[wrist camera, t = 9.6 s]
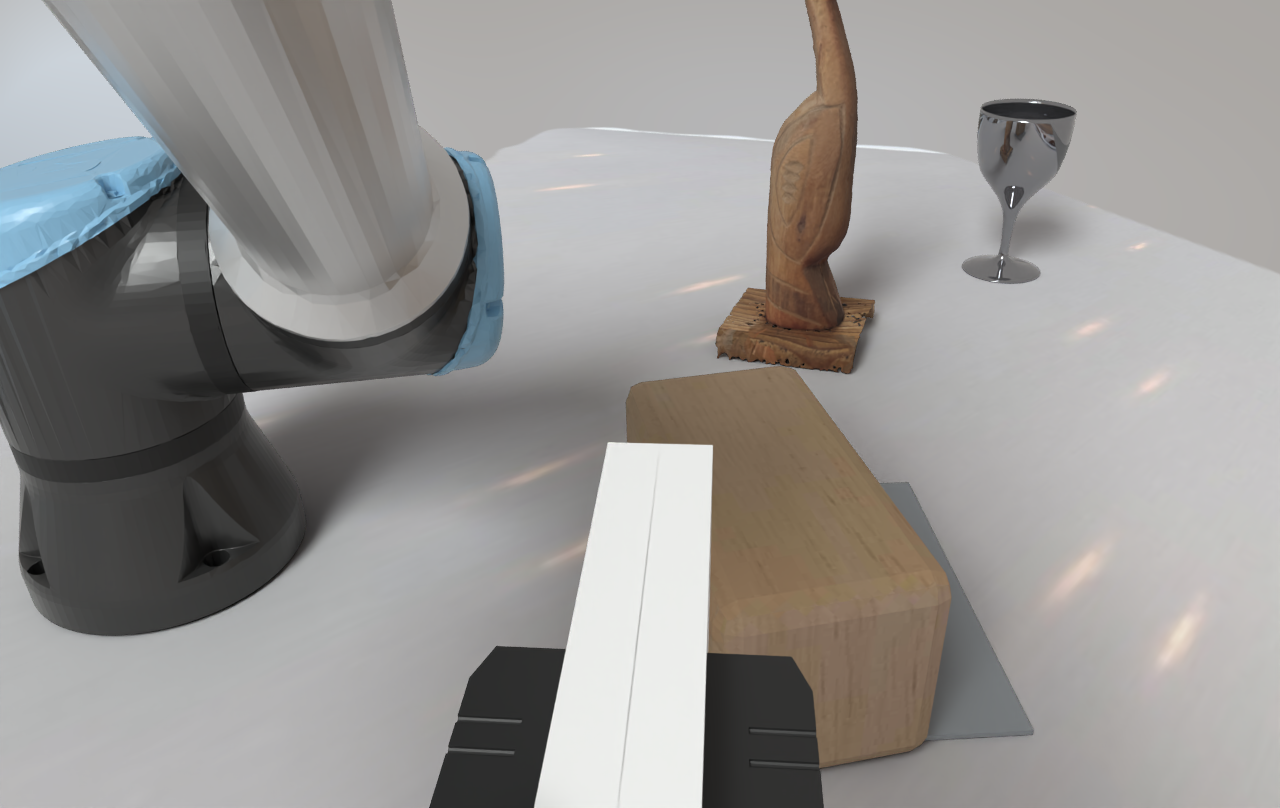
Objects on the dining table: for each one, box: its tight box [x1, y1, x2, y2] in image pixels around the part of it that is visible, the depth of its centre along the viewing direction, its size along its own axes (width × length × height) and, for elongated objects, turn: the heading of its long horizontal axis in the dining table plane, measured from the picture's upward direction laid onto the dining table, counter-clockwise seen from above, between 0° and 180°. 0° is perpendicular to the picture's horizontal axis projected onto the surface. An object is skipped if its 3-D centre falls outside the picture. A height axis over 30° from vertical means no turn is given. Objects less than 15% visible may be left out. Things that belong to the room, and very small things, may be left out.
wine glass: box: [962, 99, 1077, 283], centre depth 89 cm, size 8×8×15 cm
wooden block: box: [626, 366, 952, 768], centre depth 48 cm, size 10×10×20 cm
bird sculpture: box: [716, 0, 875, 374], centre depth 73 cm, size 11×12×32 cm
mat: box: [879, 482, 1033, 740], centre depth 53 cm, size 20×18×1 cm
